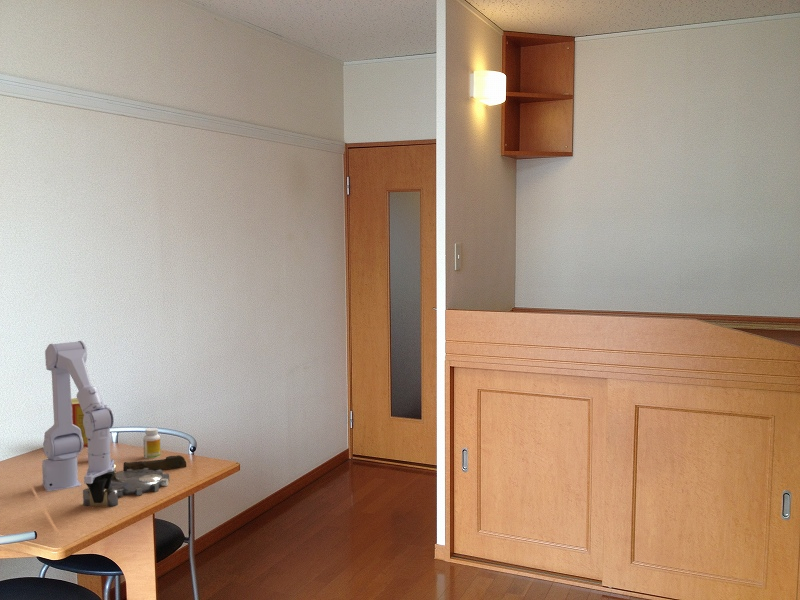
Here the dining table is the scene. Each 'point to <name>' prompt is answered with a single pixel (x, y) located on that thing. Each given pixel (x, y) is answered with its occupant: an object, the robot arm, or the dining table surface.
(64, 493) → the dining table surface
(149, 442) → the supplement bottle
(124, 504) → the dining table surface
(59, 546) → the dining table surface
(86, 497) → the cartridge fuse
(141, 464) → the dark brown rough bar
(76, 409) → the baking soda box
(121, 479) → the sprocket
